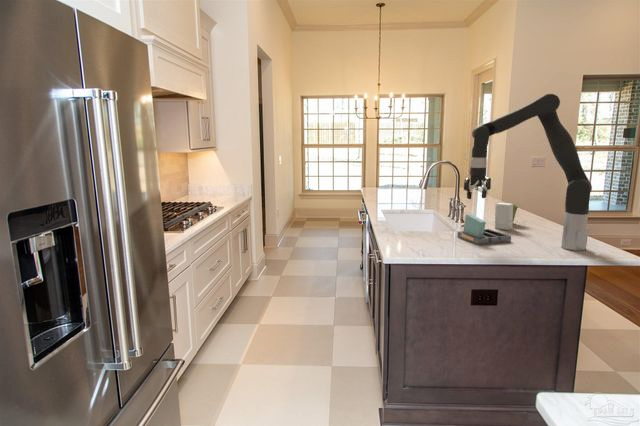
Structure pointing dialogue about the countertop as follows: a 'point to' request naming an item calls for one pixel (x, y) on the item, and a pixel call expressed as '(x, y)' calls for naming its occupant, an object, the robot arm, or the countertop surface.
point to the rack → (486, 237)
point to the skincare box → (504, 216)
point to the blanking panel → (474, 226)
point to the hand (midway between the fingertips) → (476, 198)
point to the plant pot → (514, 210)
